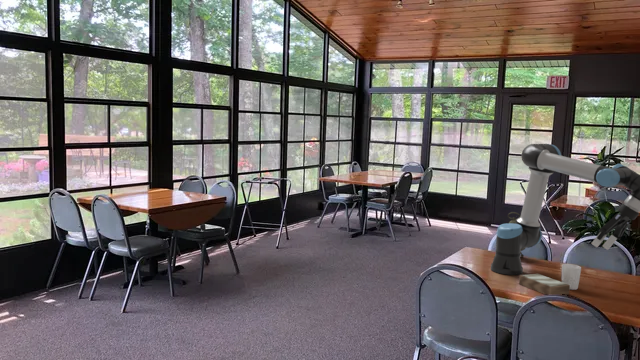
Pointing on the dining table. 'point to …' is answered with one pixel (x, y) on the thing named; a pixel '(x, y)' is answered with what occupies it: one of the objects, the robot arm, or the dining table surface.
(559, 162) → the robot arm
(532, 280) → the board
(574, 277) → the white cup
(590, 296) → the dining table surface
